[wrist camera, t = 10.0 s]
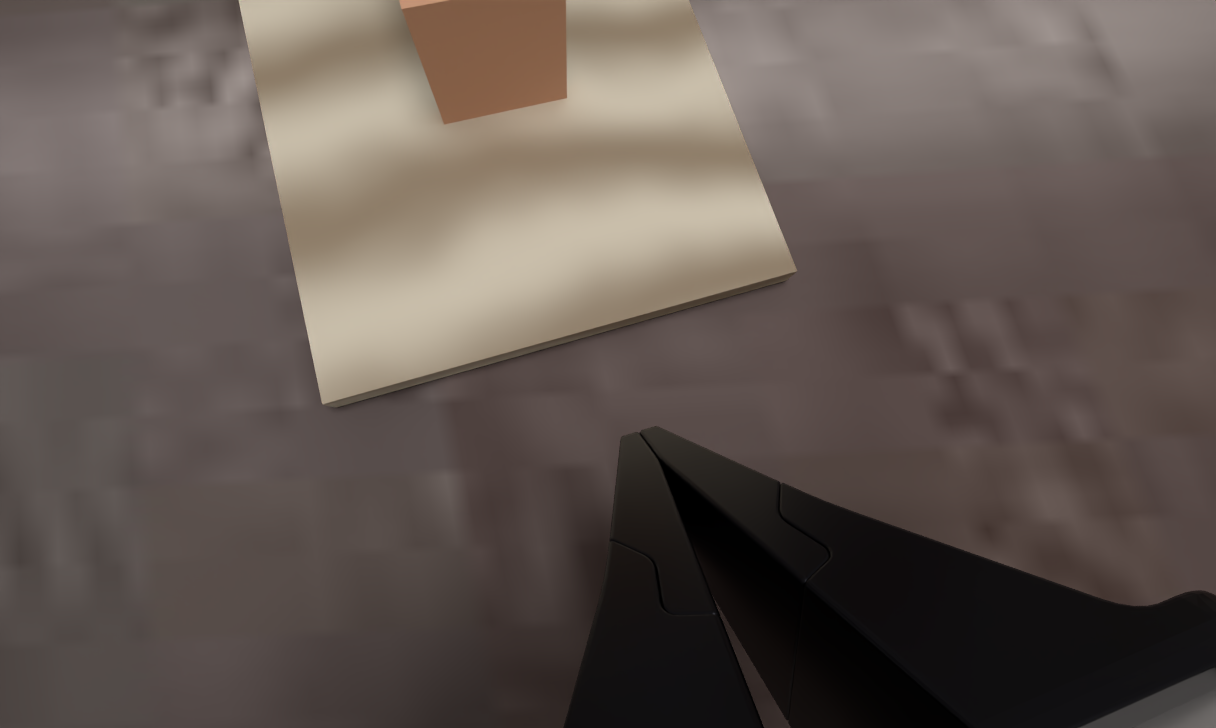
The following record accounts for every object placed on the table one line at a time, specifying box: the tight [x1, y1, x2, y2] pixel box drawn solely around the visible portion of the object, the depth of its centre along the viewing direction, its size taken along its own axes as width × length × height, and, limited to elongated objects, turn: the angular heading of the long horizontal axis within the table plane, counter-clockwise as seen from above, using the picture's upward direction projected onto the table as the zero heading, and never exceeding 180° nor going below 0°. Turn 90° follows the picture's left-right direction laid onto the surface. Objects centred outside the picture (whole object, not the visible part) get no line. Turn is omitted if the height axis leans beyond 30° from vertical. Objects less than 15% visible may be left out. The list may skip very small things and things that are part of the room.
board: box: [239, 0, 797, 408], centre depth 21 cm, size 26×18×1 cm
